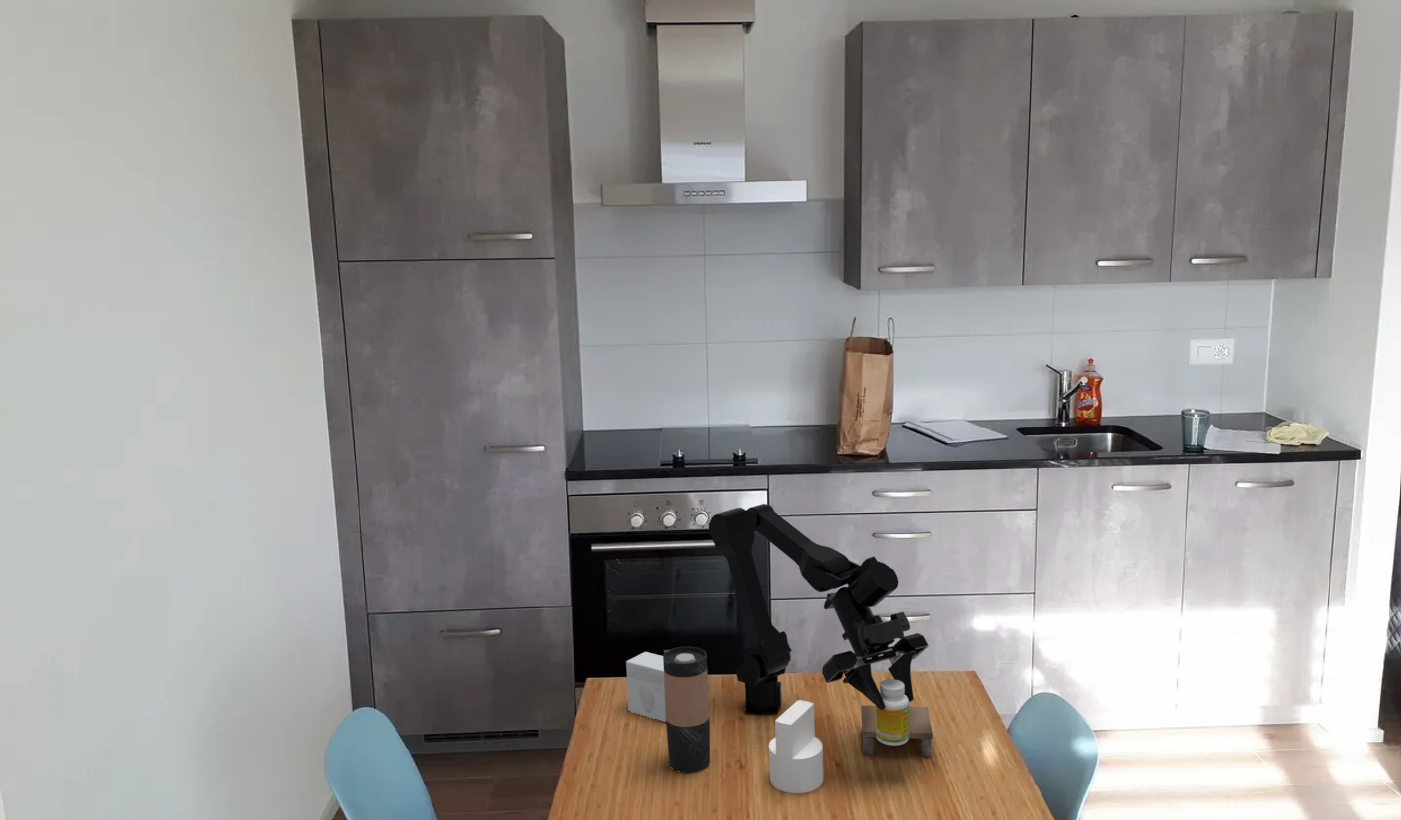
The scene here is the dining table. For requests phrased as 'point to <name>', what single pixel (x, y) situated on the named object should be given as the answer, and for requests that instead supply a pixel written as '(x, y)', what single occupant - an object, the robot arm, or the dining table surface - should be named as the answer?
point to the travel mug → (687, 708)
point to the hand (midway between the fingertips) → (897, 704)
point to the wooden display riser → (917, 728)
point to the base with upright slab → (796, 751)
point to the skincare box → (646, 685)
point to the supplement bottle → (893, 714)
